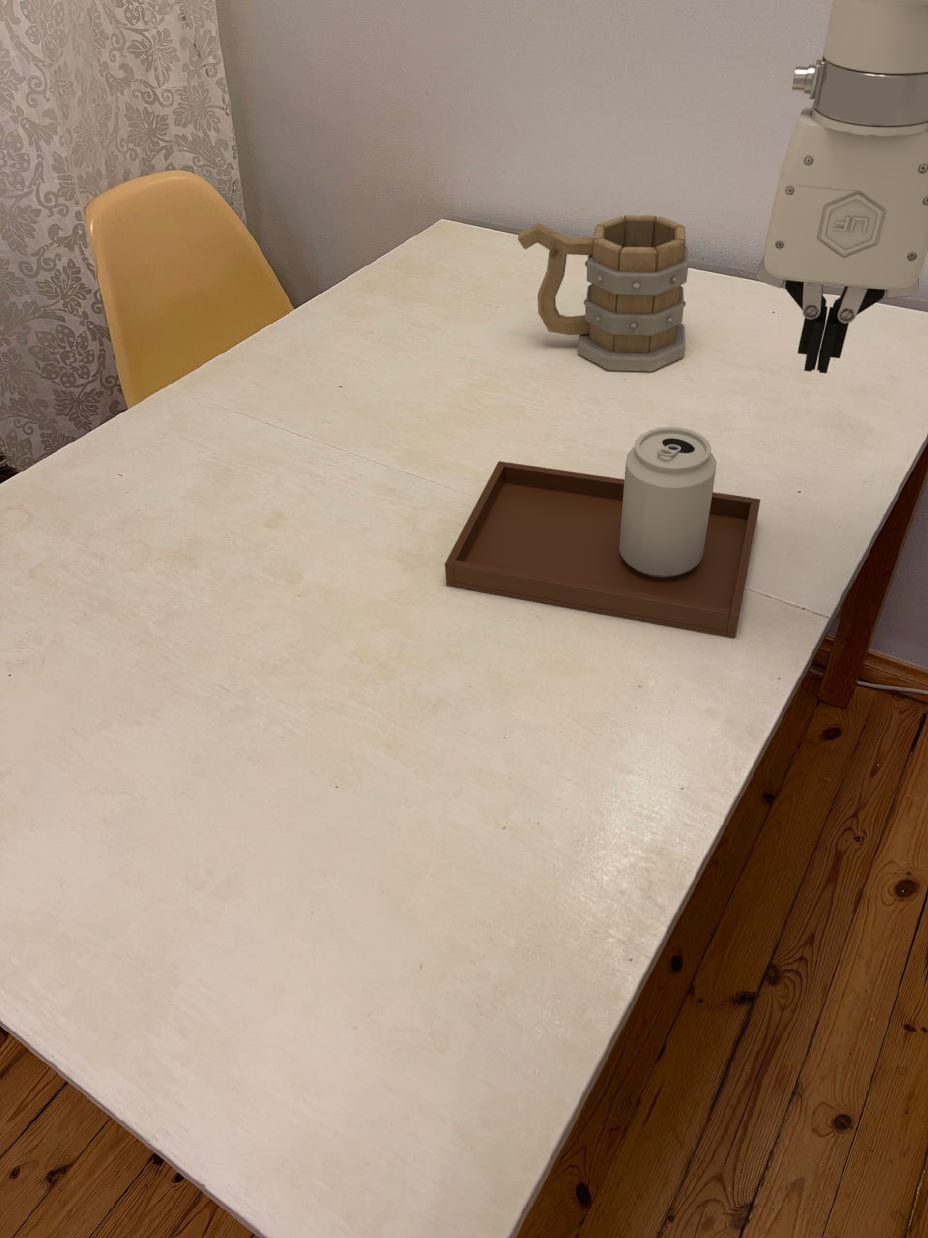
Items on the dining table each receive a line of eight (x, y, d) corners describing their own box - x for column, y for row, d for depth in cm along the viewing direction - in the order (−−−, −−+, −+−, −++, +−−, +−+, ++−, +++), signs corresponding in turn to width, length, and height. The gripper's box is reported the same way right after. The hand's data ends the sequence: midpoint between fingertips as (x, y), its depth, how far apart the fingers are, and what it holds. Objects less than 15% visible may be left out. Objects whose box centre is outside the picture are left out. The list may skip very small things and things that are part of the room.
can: (717, 550, 88) (736, 438, 80) (674, 594, 84) (690, 481, 76) (646, 521, 92) (657, 410, 84) (602, 562, 88) (609, 450, 80)
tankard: (682, 323, 122) (696, 201, 111) (684, 373, 113) (699, 246, 102) (524, 320, 125) (524, 200, 114) (514, 368, 115) (512, 244, 105)
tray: (756, 521, 92) (760, 498, 90) (735, 638, 81) (739, 615, 79) (499, 482, 99) (498, 460, 97) (446, 585, 87) (444, 563, 86)
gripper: (747, 103, 58) (707, 375, 71) (1018, 117, 54) (924, 402, 67) (760, 68, 63) (720, 328, 76) (1009, 79, 60) (923, 351, 72)
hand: (816, 362), depth 72 cm, fingers closed
